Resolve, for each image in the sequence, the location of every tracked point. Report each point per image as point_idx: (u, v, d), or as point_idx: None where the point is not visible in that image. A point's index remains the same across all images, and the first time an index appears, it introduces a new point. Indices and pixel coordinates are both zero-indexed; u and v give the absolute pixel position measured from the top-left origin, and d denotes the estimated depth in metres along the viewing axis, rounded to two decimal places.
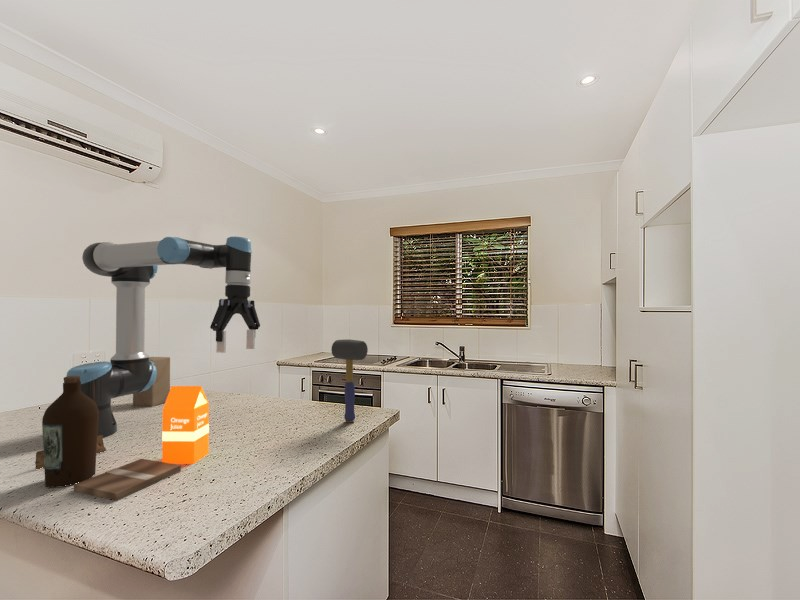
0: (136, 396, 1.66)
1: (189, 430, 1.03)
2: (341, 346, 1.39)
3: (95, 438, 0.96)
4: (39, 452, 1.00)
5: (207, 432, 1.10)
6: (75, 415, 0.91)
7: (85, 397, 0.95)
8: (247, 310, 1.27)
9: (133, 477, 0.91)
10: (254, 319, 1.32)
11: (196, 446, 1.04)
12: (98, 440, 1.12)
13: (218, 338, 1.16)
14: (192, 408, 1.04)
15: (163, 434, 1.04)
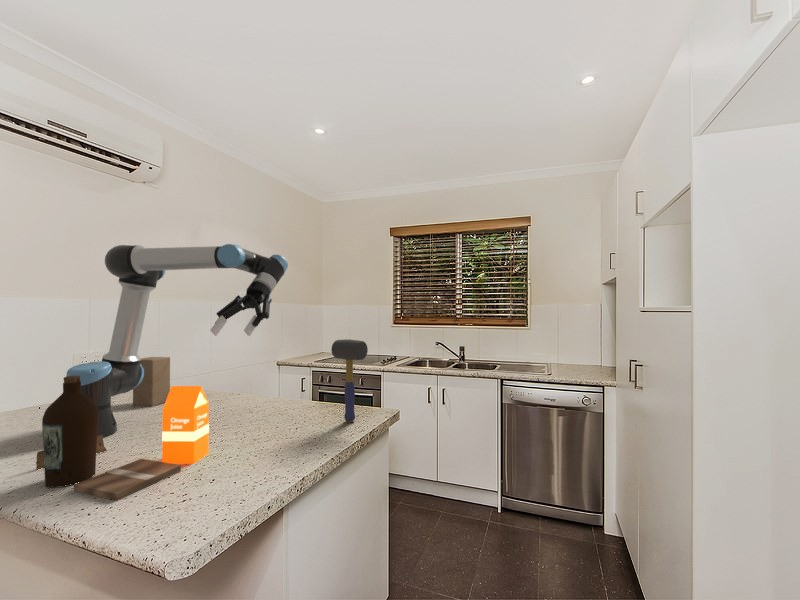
0: (136, 396, 1.66)
1: (189, 430, 1.03)
2: (341, 346, 1.39)
3: (95, 438, 0.96)
4: (40, 452, 1.00)
5: (207, 432, 1.10)
6: (75, 415, 0.91)
7: (85, 397, 0.95)
8: None
9: (133, 477, 0.91)
10: None
11: (196, 446, 1.04)
12: (98, 440, 1.12)
13: (257, 323, 1.23)
14: (192, 408, 1.04)
15: (163, 434, 1.04)
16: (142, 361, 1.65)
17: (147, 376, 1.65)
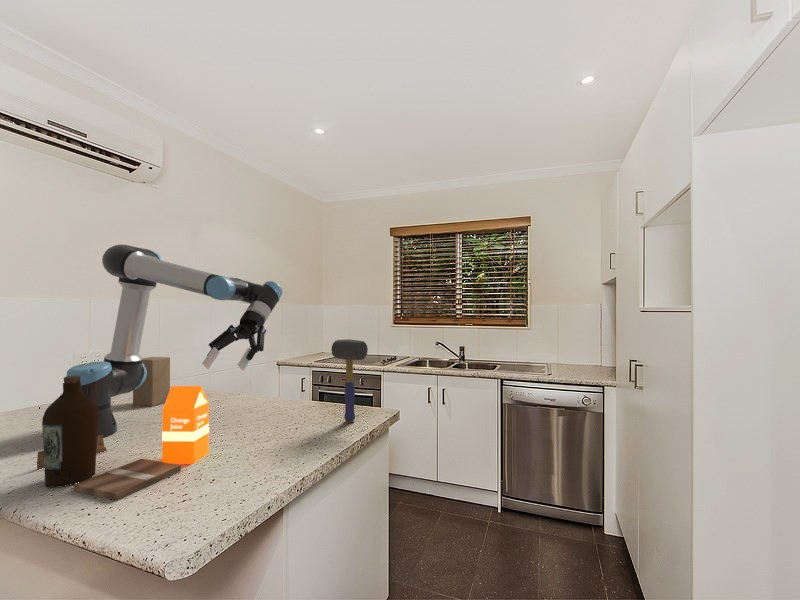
0: (136, 396, 1.66)
1: (189, 430, 1.03)
2: (341, 346, 1.39)
3: (95, 438, 0.96)
4: (41, 452, 1.00)
5: (207, 432, 1.10)
6: (75, 415, 0.91)
7: (85, 397, 0.95)
8: None
9: (133, 477, 0.91)
10: None
11: (196, 446, 1.04)
12: (98, 440, 1.12)
13: (251, 357, 1.19)
14: (192, 408, 1.04)
15: (163, 434, 1.04)
16: (142, 361, 1.65)
17: (147, 376, 1.65)
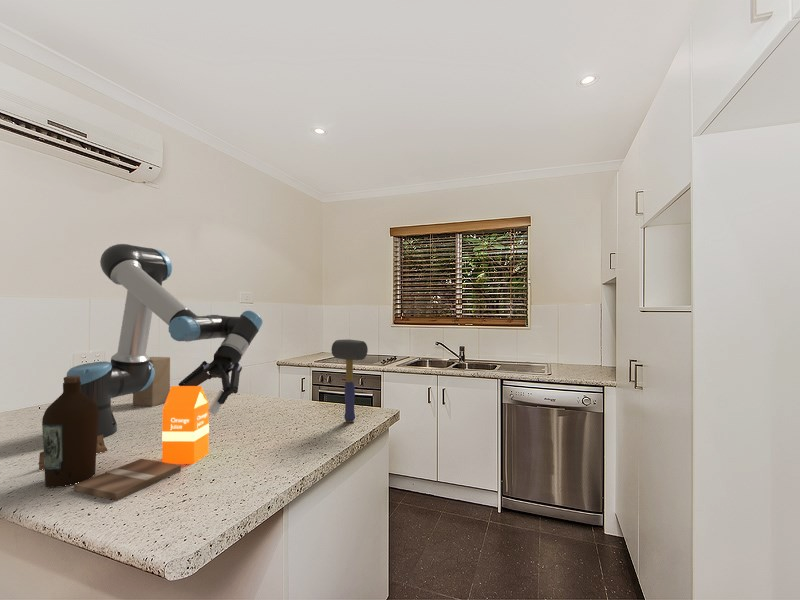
0: (136, 396, 1.66)
1: (189, 430, 1.03)
2: (341, 346, 1.39)
3: (95, 438, 0.96)
4: (42, 453, 1.00)
5: (207, 432, 1.10)
6: (75, 415, 0.91)
7: (85, 397, 0.95)
8: None
9: (133, 477, 0.91)
10: None
11: (196, 446, 1.04)
12: (99, 440, 1.12)
13: (224, 400, 1.08)
14: (192, 408, 1.04)
15: (163, 434, 1.04)
16: None
17: None
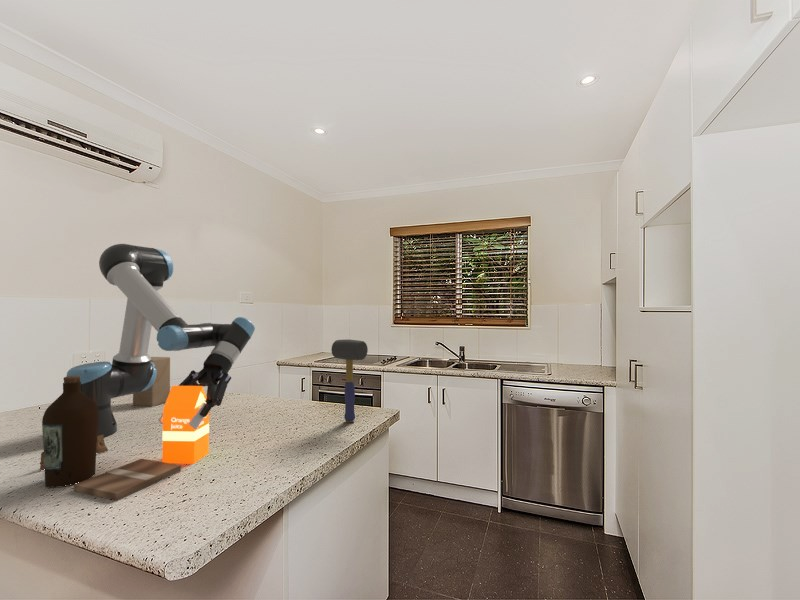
0: (136, 396, 1.66)
1: (189, 430, 1.03)
2: (341, 346, 1.39)
3: (95, 438, 0.96)
4: None
5: (207, 432, 1.10)
6: (75, 415, 0.91)
7: (85, 397, 0.95)
8: None
9: (133, 477, 0.91)
10: None
11: (196, 446, 1.04)
12: (99, 440, 1.12)
13: (206, 413, 1.05)
14: (193, 408, 1.04)
15: (163, 434, 1.04)
16: None
17: None
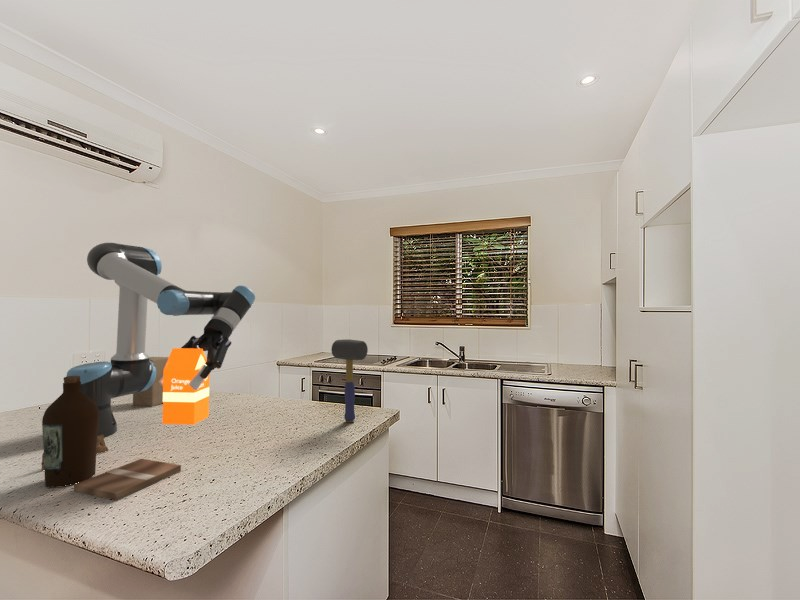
0: (136, 396, 1.66)
1: (190, 391, 1.04)
2: (341, 346, 1.39)
3: (95, 438, 0.96)
4: None
5: (207, 395, 1.10)
6: (75, 415, 0.91)
7: (85, 397, 0.95)
8: None
9: (133, 477, 0.91)
10: None
11: (196, 407, 1.05)
12: (99, 440, 1.12)
13: (206, 375, 1.05)
14: (193, 369, 1.04)
15: (163, 395, 1.04)
16: None
17: None
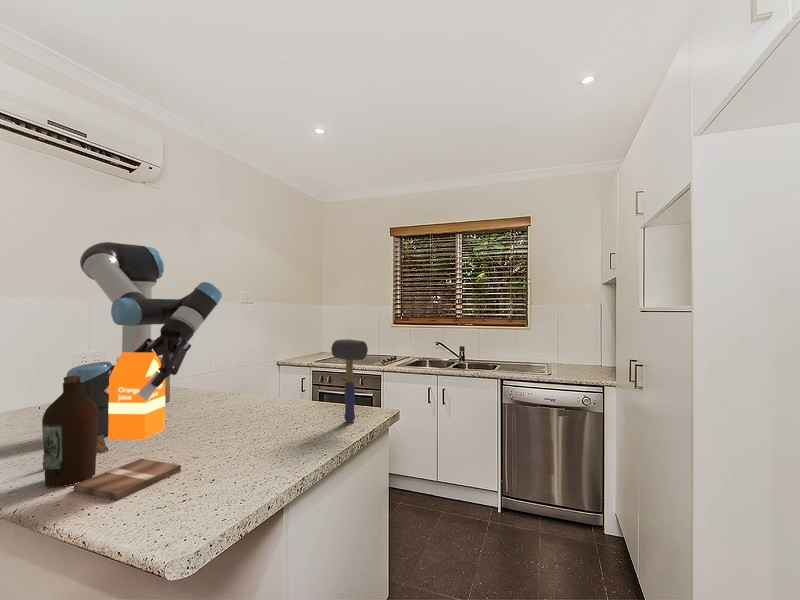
0: None
1: (139, 402, 0.91)
2: (341, 346, 1.39)
3: (95, 438, 0.96)
4: None
5: (163, 405, 0.98)
6: (75, 415, 0.91)
7: (85, 397, 0.95)
8: None
9: (133, 477, 0.91)
10: None
11: (148, 420, 0.92)
12: (100, 440, 1.12)
13: (159, 383, 0.93)
14: (143, 376, 0.91)
15: (109, 406, 0.91)
16: None
17: None
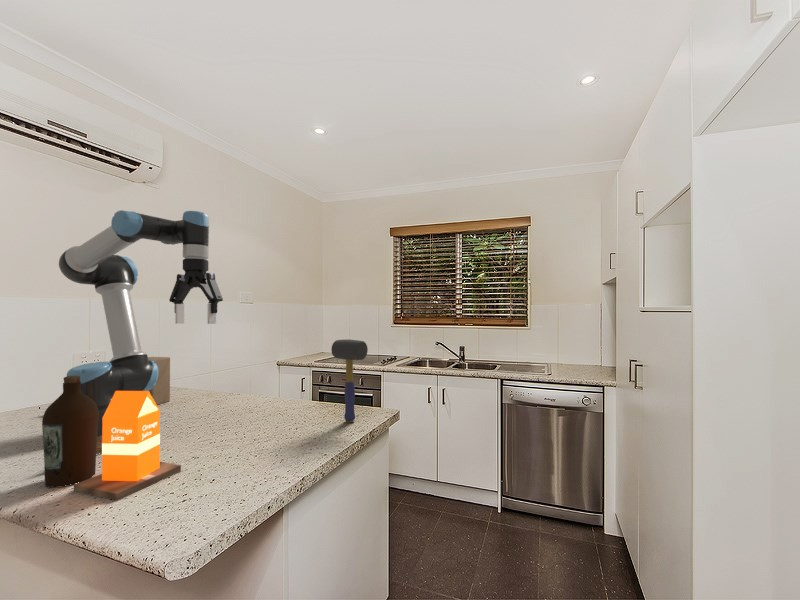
0: None
1: (132, 443, 0.89)
2: (341, 346, 1.39)
3: (95, 438, 0.96)
4: None
5: (157, 444, 0.96)
6: (75, 415, 0.91)
7: (85, 397, 0.95)
8: None
9: None
10: None
11: (141, 460, 0.91)
12: None
13: (216, 310, 1.24)
14: (135, 417, 0.90)
15: (103, 447, 0.90)
16: None
17: None
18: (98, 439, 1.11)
